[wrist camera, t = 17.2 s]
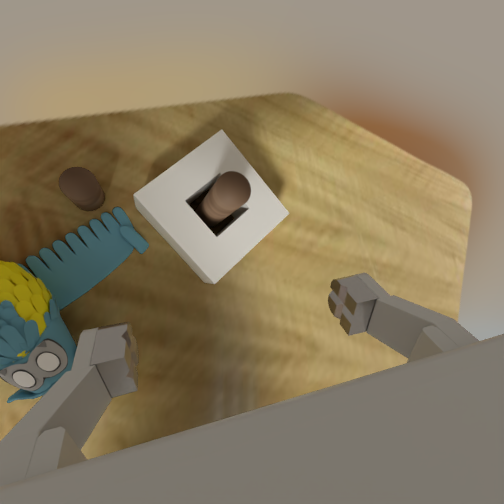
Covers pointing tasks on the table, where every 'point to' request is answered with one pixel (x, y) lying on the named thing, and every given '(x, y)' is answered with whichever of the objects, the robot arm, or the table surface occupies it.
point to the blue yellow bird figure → (55, 301)
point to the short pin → (82, 188)
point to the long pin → (224, 198)
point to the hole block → (189, 223)
